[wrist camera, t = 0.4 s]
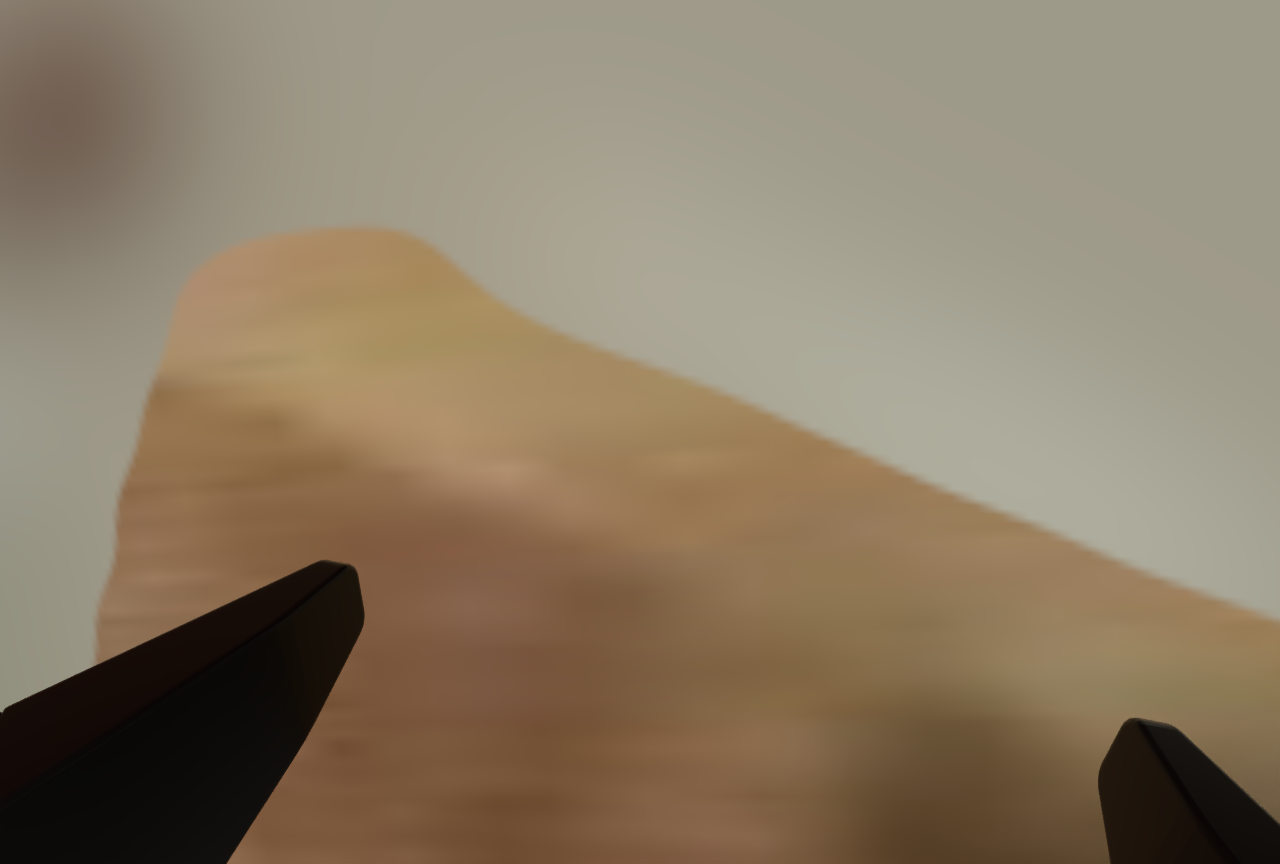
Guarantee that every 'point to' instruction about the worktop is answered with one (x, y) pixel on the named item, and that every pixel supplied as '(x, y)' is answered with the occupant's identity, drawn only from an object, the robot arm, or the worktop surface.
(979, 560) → the worktop surface
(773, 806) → the worktop surface
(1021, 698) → the worktop surface
